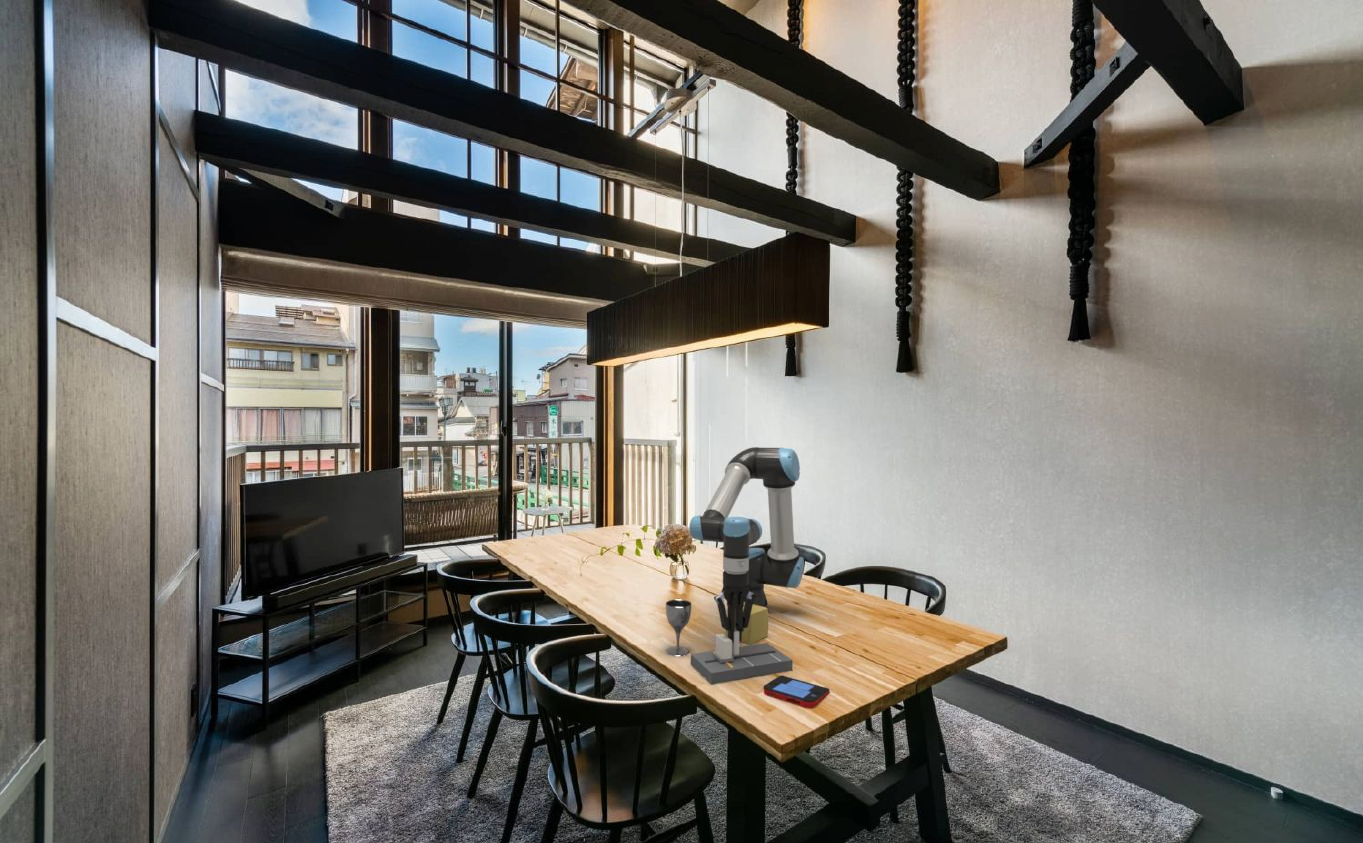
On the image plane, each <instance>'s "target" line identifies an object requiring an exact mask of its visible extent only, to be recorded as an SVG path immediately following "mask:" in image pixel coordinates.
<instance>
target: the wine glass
mask: <svg viewBox="0 0 1363 843" xmlns="http://www.w3.org/2000/svg"><path fill="white" fill-rule="evenodd" d="M665 613H666V614H665V615H666V621H667V623H668V624H669V625H670V626H671V628H672V629H673V630H674V633H675V637H676V646H675V648H673V647H670V649H669V648H668V649H666V651H667V653H668V654H667V653H666V654H667V655H669V656H671V655H672V656H673V657H684V655H685V656H687V655H689V654H690V651H688V650H689V649H688V648H685V649H684V647H681V648H679V647H680V638H681V633H682V631H683V629H684V628H685V627H686V626H687V625H688V624H689V622H690V618H691V614H692V602H691V601H689V600H687V599H676V598H675V599H670V600H668V601H666V602H665ZM688 653H689V654H688Z"/></svg>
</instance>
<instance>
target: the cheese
mask: <svg viewBox="0 0 1363 843" xmlns="http://www.w3.org/2000/svg"><path fill="white" fill-rule="evenodd" d="M744 605H745V602H744ZM743 609H744V607H743ZM735 629H736V628H735ZM768 632H769V607H768V608H765V607H762V606H758V605H753V606H752V610H751V615H750V619H749V624H748V627H747V628H744V631H743V632H742V640H741V641H740V642H743V643H745V644H747V645H753V644H754V643H756V642H759V641H760V640H763V639H764V637H765V638H767V637H768ZM725 636H727V637H728V630H725ZM762 638H763V639H762Z"/></svg>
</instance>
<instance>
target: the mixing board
mask: <svg viewBox="0 0 1363 843" xmlns="http://www.w3.org/2000/svg"><path fill="white" fill-rule="evenodd" d="M713 653H716V652H715V650H710V651H702V652H695V653H690V666H692V667H693V668H694V669H695V670H696V672H698V673H699V674H700V675H701V676H702V677H703V678H704V677H705V678H706V679H705V678H704V679H705V680H706V681H707V682H708V683H709V684H711V685H716V684H720V683H726V682H733V681H739V680H744V679H750V678H756V677H761V676H769V675H774V674H779V673H785V672H790V671H793V661H794V660H793V659H792V658H790V657H789V656H787V654H785V653H783V652H781V651H780V650H779V649H777V648H775V647H774V646H773V645H771V644H769V643H768V642H764V643H756V644H748V645H744V646H739V654H738V655H734V654H732V657H734V661H730V662H724V663H720V662H719V661H718V660H717V659H716V658H715V657H714V656H713Z"/></svg>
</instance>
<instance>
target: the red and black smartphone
mask: <svg viewBox="0 0 1363 843" xmlns="http://www.w3.org/2000/svg"><path fill="white" fill-rule="evenodd" d="M830 690H831V689H830V688H829V687H826V686H822V685H818V684H814V683H811V682H807V681H803V680H799V679H797V678H794V677H789V676H786V675H779V676H777V677H776V678H774V679H773V680H771V681H769V682H768V683H766V684H764V686H763V693H764V695H765V696H768V697H772V698H773V699H774V698H775V699H778V700H780V701H783V702H787V703H790V704H793V705H796V706H799V707H803V708H805V707H806V708H807V709H809V708H810V709H811V707H812V708H815V706H816V705H817V704H819V702H821V701H820V700H821V699H822V698H823V697H824V698H825V697H826V696H827V695H828V694H829V693H830ZM824 698H823V699H824ZM823 699H822V700H823Z"/></svg>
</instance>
